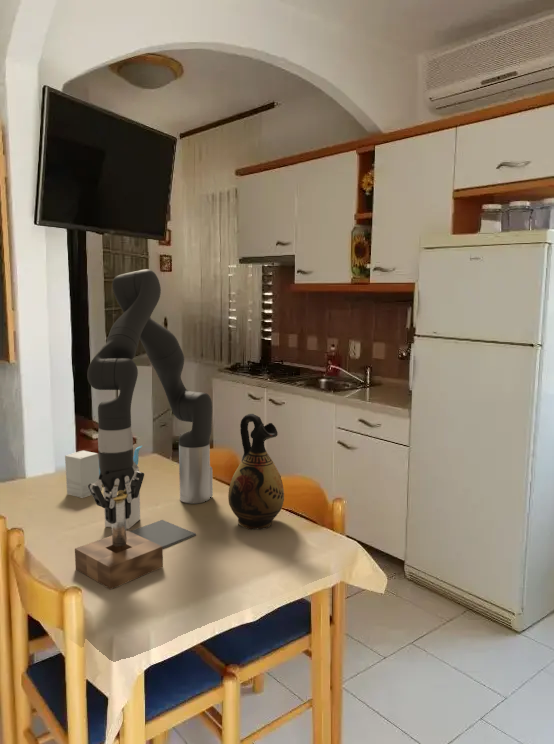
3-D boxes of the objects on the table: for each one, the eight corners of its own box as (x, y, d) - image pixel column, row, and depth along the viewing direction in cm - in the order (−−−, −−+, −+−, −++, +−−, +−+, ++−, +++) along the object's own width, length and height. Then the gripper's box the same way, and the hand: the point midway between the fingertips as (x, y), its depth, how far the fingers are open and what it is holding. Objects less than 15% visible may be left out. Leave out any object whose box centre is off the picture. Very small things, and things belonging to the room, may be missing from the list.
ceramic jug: (295, 522, 165) (296, 416, 161) (256, 539, 154) (256, 425, 150) (252, 506, 177) (252, 407, 173) (213, 521, 165) (211, 415, 161)
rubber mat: (162, 521, 165) (162, 519, 165) (195, 535, 156) (195, 533, 156) (119, 536, 155) (118, 535, 155) (152, 552, 146) (152, 550, 146)
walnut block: (127, 549, 147) (126, 530, 147) (162, 566, 138) (162, 546, 137) (75, 569, 137) (74, 548, 136) (110, 589, 128) (109, 567, 127)
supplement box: (100, 492, 189) (99, 453, 187) (81, 498, 183) (80, 458, 181) (85, 487, 193) (83, 449, 191) (66, 494, 187) (64, 455, 185)
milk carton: (129, 529, 160) (127, 460, 157) (104, 527, 161) (102, 458, 158) (140, 519, 167) (138, 453, 164) (116, 517, 168) (114, 451, 165)
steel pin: (122, 537, 140) (120, 489, 138) (133, 543, 137) (131, 493, 135) (105, 543, 137) (103, 494, 135) (116, 549, 134) (114, 498, 132)
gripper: (132, 437, 141) (134, 507, 144) (78, 450, 131) (81, 525, 133) (151, 443, 136) (153, 515, 139) (97, 456, 126) (100, 534, 128)
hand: (118, 519), depth 136 cm, fingers closed on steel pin, 3 cm apart
